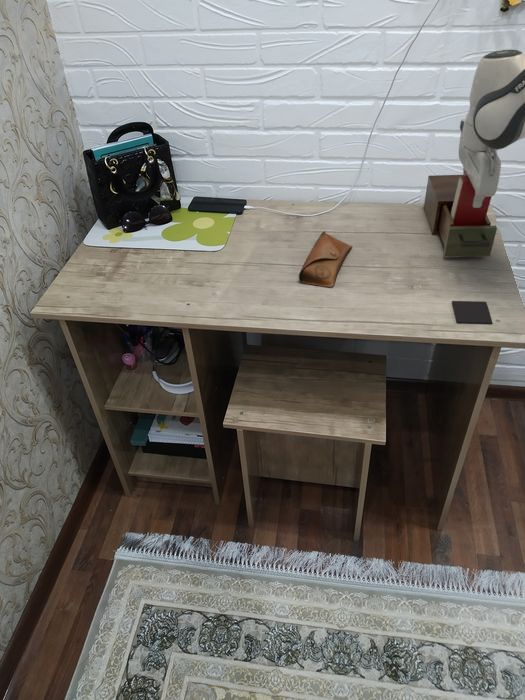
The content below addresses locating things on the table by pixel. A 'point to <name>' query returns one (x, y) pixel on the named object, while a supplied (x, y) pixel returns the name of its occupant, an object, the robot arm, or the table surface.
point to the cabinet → (439, 197)
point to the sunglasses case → (324, 261)
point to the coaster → (471, 312)
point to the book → (468, 205)
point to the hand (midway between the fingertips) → (471, 195)
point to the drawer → (465, 236)
